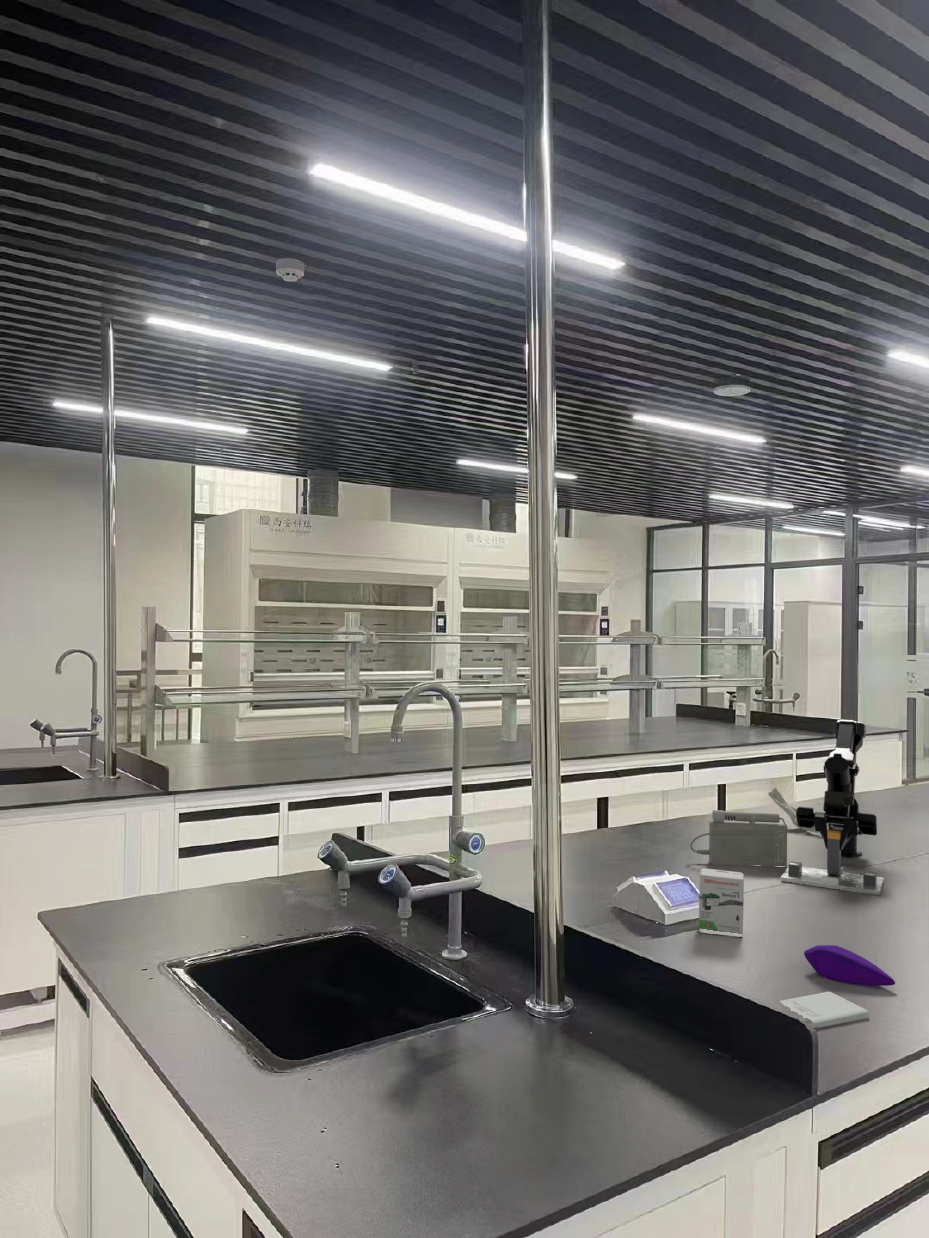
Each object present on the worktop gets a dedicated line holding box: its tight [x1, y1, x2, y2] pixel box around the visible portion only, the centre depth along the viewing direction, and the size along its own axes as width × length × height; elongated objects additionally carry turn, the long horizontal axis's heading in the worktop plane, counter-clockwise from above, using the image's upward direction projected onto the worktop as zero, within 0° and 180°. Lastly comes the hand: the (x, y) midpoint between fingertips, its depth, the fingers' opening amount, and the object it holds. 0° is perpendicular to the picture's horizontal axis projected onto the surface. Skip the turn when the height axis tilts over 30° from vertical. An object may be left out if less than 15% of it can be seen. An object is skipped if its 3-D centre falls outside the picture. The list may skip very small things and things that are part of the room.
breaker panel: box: [780, 861, 885, 897], centre depth 211 cm, size 14×22×4 cm, turn 61°
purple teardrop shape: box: [803, 944, 896, 987], centre depth 148 cm, size 5×5×15 cm
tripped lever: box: [826, 830, 842, 875], centre depth 214 cm, size 3×3×10 cm
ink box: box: [698, 867, 745, 935], centre depth 172 cm, size 9×5×12 cm, turn 73°
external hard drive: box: [779, 991, 869, 1029], centre depth 134 cm, size 2×8×12 cm
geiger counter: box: [689, 809, 788, 867], centre depth 226 cm, size 14×6×25 cm
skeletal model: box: [767, 787, 829, 834], centre depth 271 cm, size 16×9×25 cm
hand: (833, 848), depth 213 cm, fingers closed on tripped lever, 3 cm apart
